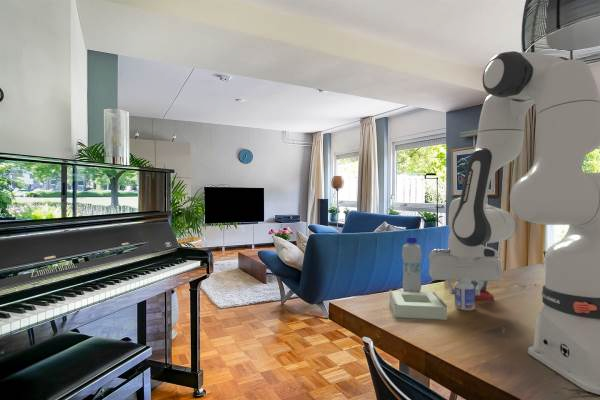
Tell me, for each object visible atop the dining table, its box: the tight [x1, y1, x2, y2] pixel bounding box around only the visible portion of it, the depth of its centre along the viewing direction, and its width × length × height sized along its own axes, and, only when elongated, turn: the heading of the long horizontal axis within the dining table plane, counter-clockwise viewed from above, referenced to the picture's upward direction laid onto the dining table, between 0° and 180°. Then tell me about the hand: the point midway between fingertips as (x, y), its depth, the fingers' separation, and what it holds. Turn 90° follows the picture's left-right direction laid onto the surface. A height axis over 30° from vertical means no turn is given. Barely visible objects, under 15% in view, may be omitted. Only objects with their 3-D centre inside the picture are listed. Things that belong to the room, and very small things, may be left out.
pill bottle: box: [454, 278, 476, 312], centre depth 102 cm, size 5×5×10 cm
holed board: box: [389, 289, 448, 321], centre depth 100 cm, size 14×14×4 cm
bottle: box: [401, 236, 423, 292], centre depth 118 cm, size 7×7×20 cm
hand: (464, 294), depth 102 cm, fingers closed on pill bottle, 5 cm apart
